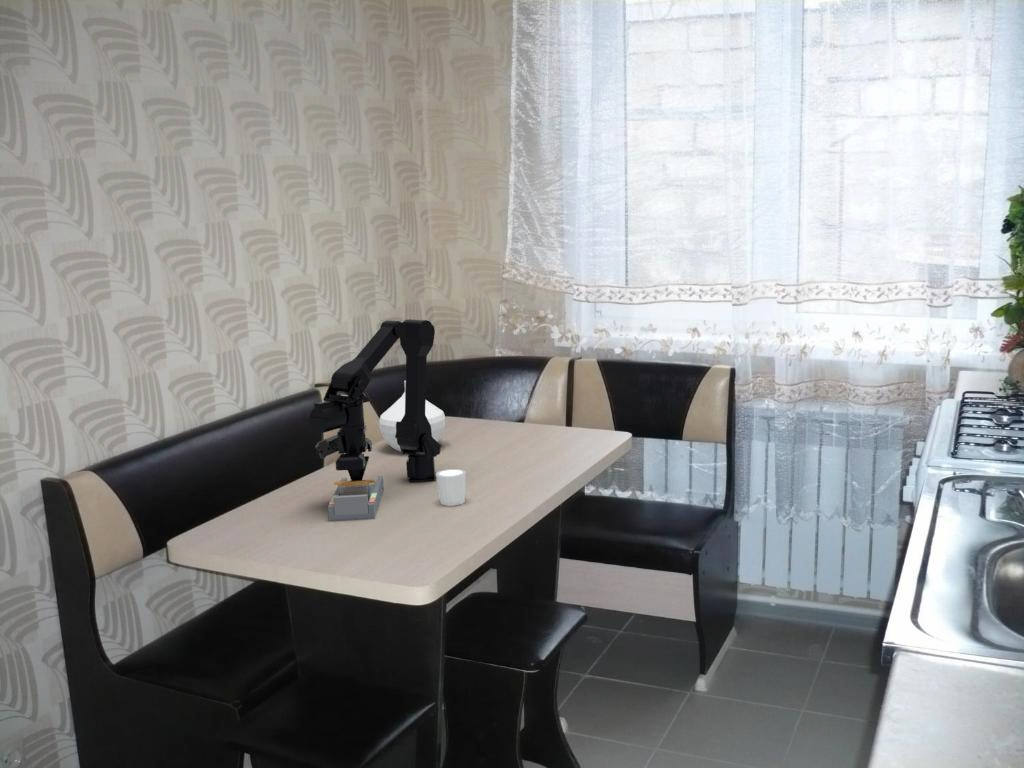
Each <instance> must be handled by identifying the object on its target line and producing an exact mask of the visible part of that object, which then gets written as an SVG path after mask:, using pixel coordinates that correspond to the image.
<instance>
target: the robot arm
mask: <svg viewBox="0 0 1024 768" xmlns="http://www.w3.org/2000/svg"><path fill="white" fill-rule="evenodd" d="M435 331H436V330H435V325H433V323H432V322H431V321H430V320H426V319H412V318H411V319H410V318H409V319H405V320H404V321H403V322H402V321H399V320H385V321H383V322H382V323H381V324H380V328H379V329H378V330H377V332H375V334H374V335H373V336H372V337H371V339H370V340H369V341H368V342H367V343H366V345H365V346H364V347H363V348H362V349H361V351H360V352H359V353H358V354H357V356H355V357H354V359H352V360H350V361H348V362H346V363H344V364H343V365H341V366H340V367H339V368H338V369H337V370H335V371H334V373H332V375H331V379H330V383H329V385H328V387H327V390H326V391H325V394H324V397H323V399H322V400H323V401H321V402H319V401H318V402H314V408H313V409H311V412H310V414H309V417H308V422H309V425H310V427H311V429H312V430H313V431H314V433H316V434H325V433H328V432H332V431H334V430H337V429H338V431H337V432H336V433H337V434H335V435H332V436H329V437H327V438H324V439H322V440H320V441H318V442H317V443H316V445H315V447H314V448H315V449H316V455H319V458H320V460H321V459H326V457H328V456H330V455H333V454H335V453H337V452H338V454H339V456H338V457H337V459H335V470H336V471H347V473H348V475H349V477H350V481H355V480H364V475H365V473H366V469H367V466H368V464H369V463H368V462H369V460H370V456H369V455H366V456H365V453H366V452H367V450H368V453H369V452H372V451H373V446H372V445H373V443H372V440H371V439H370V438H368V437H366V431H367V425H365V424H366V422H365V412H364V411H365V410H364V404H365V403H368V402H370V401H371V398H369V397H368V396H367V395H365V394H364V393H365V391H366V389H367V388H368V386H369V384H370V383H371V380H372V373H373V372H374V369H375V368H376V367H377V366H378V364H379V363H380V362H381V361H383V359H384V357H385V356H386V355H387V353H388V352H389V351H390V350H391V348H392V347H393V346H394V345H395V344H396V343H397V341H399V344H400V347H401V350H402V351H403V352H404V355H405V380H406V387H405V386H404V392H405V415H404V417H403V418H402V420H401V422H398V421H397V423H396V435H395V438H397V443H398V445H399V446H400V449H401V451H402V452H401V453H402V455H408V456H407V459H406V460H405V461H406V463H405V464H406V478H407V479H408V482H409V483H413V482H415V483H416V482H417V483H418V482H433V481H434V482H435V481H436V480H437V478H436V473H437V471H436V463H435V461H436V460H435V457H437V456H438V455H440V453H441V448H442V446H441V444H440V443H439V441H438V442H437V441H436V440H435V439H434V438H433V437H432V432H431V425H430V423H429V421H428V419H427V417H426V415H425V401H426V400H427V398H426V395H427V394H426V393H427V391H426V390H427V357H428V355H429V353H430V352H431V350H432V349H433V347H434V341H435V333H436V332H435Z"/></svg>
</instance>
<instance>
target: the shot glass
mask: <svg viewBox="0 0 1024 768" xmlns="http://www.w3.org/2000/svg"><path fill="white" fill-rule="evenodd" d="M466 480H467V471H465V470H464V469H461V468H460V469H459V468H448V469H442V470H440V471H436V483H437V490H438V495H439V502H440V504H441V505H443V506H449V507H450V506H452V507H453V506H454V507H455V506H459V504H460V505H463V504H465V502H466V487H467V485H466V484H467V483H466V482H467V481H466Z"/></svg>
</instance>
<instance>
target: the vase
mask: <svg viewBox="0 0 1024 768" xmlns="http://www.w3.org/2000/svg"><path fill="white" fill-rule="evenodd" d="M403 383H404V388H405V387H406V379H405V380H404V381H403ZM404 415H405V391H404V392H403V393H402V395H401V397H399V398H398V399H397V400H396V401H395V402H394V403H393V404H392V405H391V406H390V407H388V408H387V410H385V411H384V412H383V413H382V414H380V417H379V421H378V425H379V426H378V427H379V431H380V433H381V435H382V437H383V439H384V441H385V442H386V443H387V444H388V445H389V447H391V448H392V449H394V450H395V451H397V452H400V453H402V451H401V449H400V446H399V445H398V443H397V438H395V435H396V423H397V421H398V422H401V420H402V418H403V417H404ZM425 415H426V417H427V419H428V421H429V423H430V425H431V432H432V437H433V438H434V439H435V440H436V441H437V442H438V443H439V441H440V440H441V438H443V437H442V436H443V433H444V431H445V428H446V415H445V412H444V411H443V410H442V409H440V408H439V407H437V406H436V405H435V404H433V403H431V402H430V401H428V400H427V399H426V401H425Z"/></svg>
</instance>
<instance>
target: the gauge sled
mask: <svg viewBox="0 0 1024 768" xmlns="http://www.w3.org/2000/svg"><path fill="white" fill-rule="evenodd" d="M370 484H376V480H375V479H362V480H355V481H351V480H347V481H340V480H339V481H333V486H338V485H341V486H340V496H349V495H367V494H368V503H369V500H370V489H369V485H370Z"/></svg>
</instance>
